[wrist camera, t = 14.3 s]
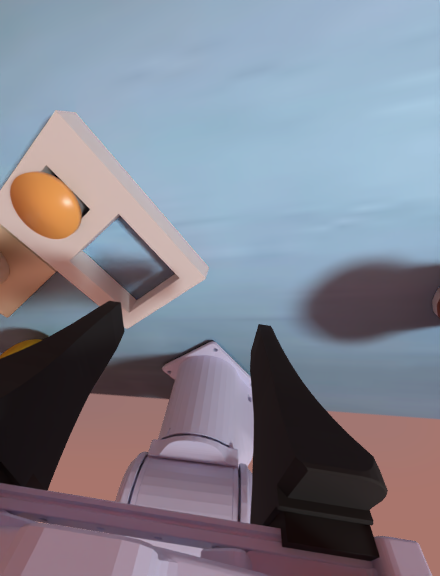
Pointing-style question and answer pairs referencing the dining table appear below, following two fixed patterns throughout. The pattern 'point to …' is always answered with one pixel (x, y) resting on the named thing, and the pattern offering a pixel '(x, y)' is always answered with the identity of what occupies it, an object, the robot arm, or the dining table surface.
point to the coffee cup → (436, 303)
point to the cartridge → (3, 268)
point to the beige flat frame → (100, 218)
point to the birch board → (20, 272)
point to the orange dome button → (47, 204)
